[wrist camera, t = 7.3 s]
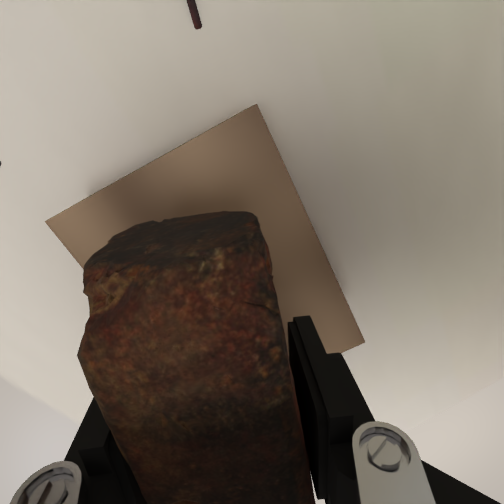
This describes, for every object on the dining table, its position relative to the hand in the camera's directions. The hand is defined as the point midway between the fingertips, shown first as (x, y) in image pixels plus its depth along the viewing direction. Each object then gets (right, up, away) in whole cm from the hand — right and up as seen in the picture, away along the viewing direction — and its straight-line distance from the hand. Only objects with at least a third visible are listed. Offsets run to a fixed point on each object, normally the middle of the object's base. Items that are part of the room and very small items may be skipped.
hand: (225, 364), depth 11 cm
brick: (0, 0, +1) cm, 1 cm away
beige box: (-1, +4, +9) cm, 10 cm away
